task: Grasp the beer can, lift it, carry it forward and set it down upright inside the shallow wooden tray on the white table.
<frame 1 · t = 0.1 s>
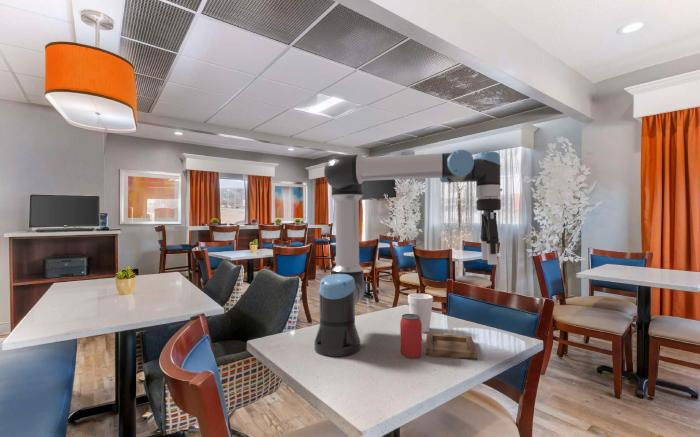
hand: (489, 262, 109), 28 cm above the table, fingers open, 13 cm apart
foam cup: (420, 330, 126), on the table
wooden tray: (449, 348, 107), on the table
beer can: (411, 355, 102), on the table
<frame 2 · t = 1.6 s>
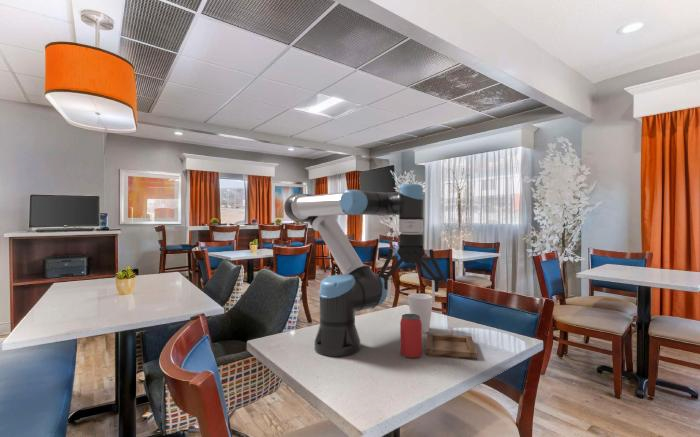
hand: (411, 301, 103), 17 cm above the table, fingers open, 13 cm apart
nothing on the table moved.
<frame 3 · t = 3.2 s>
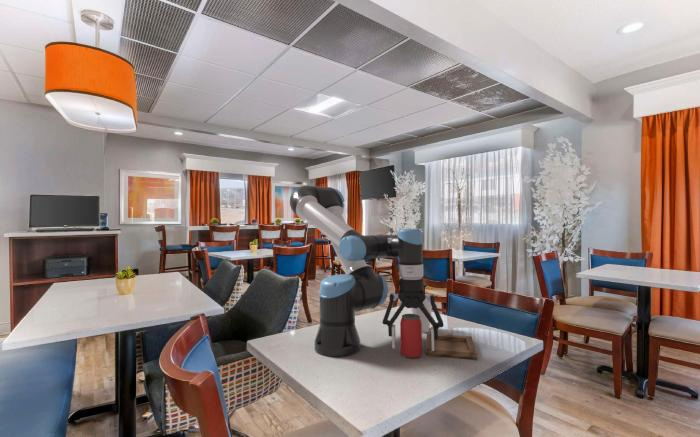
hand: (413, 348, 102), 2 cm above the table, fingers open, 11 cm apart
nothing on the table moved.
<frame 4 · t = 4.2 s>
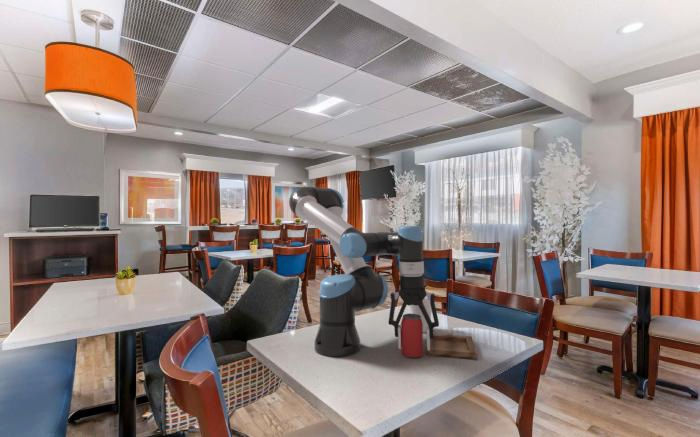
hand: (414, 347, 102), 2 cm above the table, fingers open, 8 cm apart
beer can: (412, 355, 102), on the table, touching gripper
everything else where it was.
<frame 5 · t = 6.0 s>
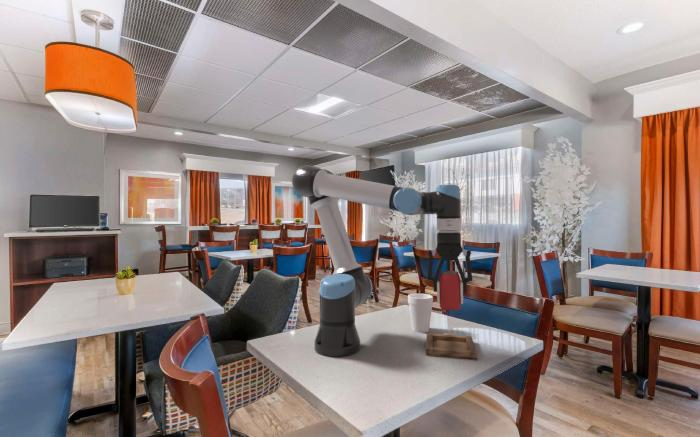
hand: (449, 302, 107), 15 cm above the table, fingers closed on beer can, 7 cm apart
beer can: (450, 309, 107), point 13 cm above the table, touching gripper
everything else where it was.
when the fingers open (3 cm above the table, at t = 7.7 s): beer can stays where it is, resting on wooden tray.
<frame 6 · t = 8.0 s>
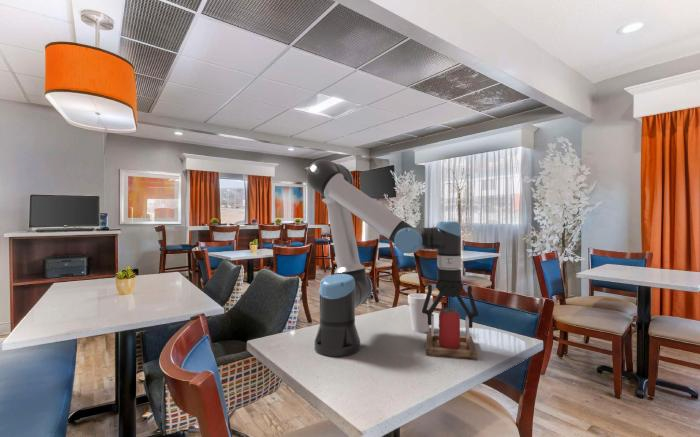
hand: (449, 336, 107), 4 cm above the table, fingers open, 10 cm apart
beer can: (449, 347, 107), resting on wooden tray
everything else where it was.
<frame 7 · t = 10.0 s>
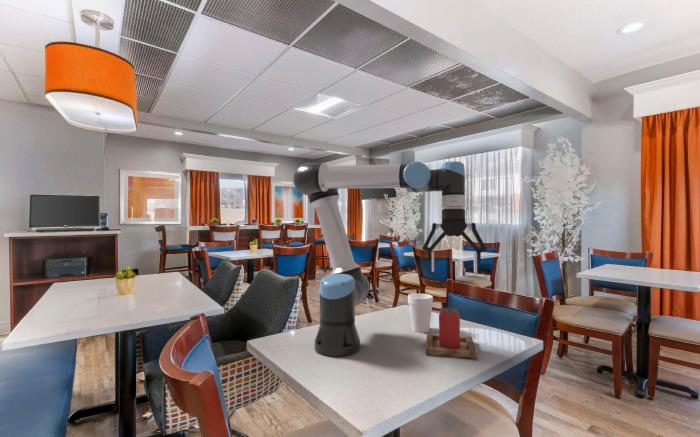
hand: (453, 272, 109), 25 cm above the table, fingers open, 13 cm apart
nothing on the table moved.
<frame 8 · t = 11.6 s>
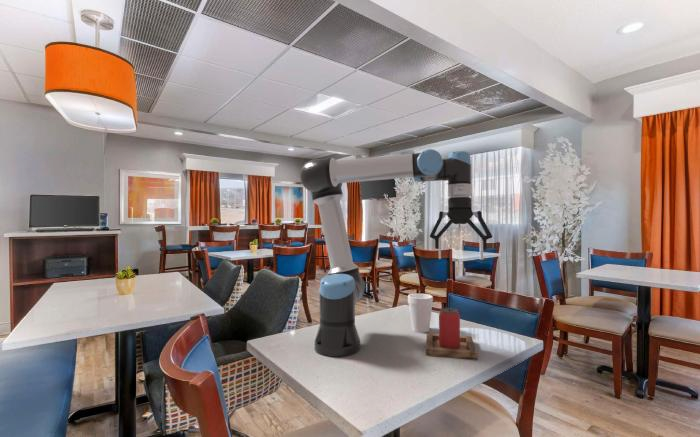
hand: (460, 259, 112), 29 cm above the table, fingers open, 13 cm apart
nothing on the table moved.
at the end: beer can 0.1 cm off-centre on the wooden tray, point 0.4 cm above the wooden tray's base; beer can tilted 0°; the gripper is holding nothing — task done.
